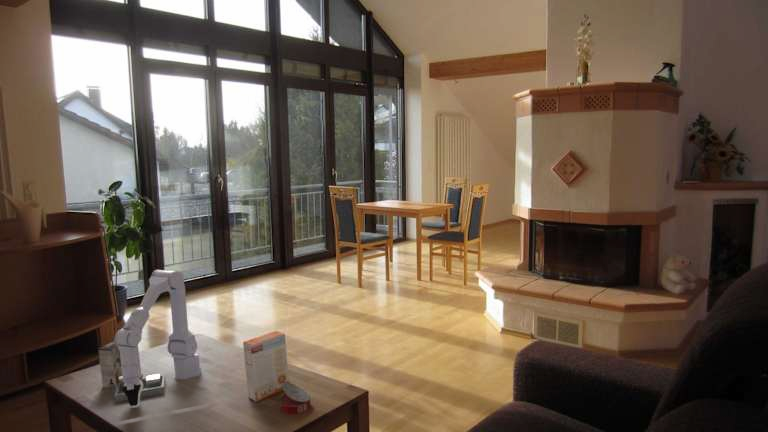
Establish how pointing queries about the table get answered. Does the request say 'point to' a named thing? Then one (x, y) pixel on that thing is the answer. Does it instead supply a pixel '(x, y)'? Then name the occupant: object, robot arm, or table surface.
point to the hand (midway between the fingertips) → (134, 400)
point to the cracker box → (265, 365)
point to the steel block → (153, 381)
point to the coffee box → (110, 365)
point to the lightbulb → (138, 393)
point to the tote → (145, 392)
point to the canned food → (294, 399)
